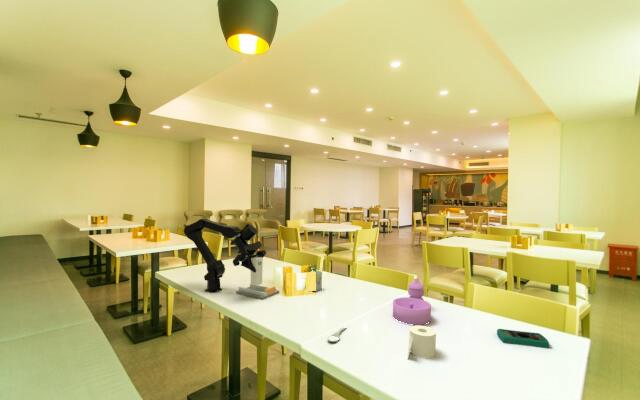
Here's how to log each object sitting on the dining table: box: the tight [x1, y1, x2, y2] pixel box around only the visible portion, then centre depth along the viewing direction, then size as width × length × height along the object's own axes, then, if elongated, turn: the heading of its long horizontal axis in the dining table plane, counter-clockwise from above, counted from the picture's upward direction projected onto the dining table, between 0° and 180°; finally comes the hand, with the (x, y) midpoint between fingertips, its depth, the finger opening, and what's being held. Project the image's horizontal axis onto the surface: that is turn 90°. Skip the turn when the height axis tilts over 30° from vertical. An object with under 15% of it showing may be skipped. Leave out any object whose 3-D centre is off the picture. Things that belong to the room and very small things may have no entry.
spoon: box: [327, 328, 346, 343], centre depth 114 cm, size 4×21×2 cm, turn 155°
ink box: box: [308, 264, 323, 292], centre depth 166 cm, size 7×4×13 cm, turn 143°
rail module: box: [250, 257, 264, 286], centre depth 152 cm, size 4×4×13 cm
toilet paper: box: [406, 325, 437, 359], centre depth 100 cm, size 8×11×7 cm
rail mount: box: [235, 283, 280, 301], centre depth 160 cm, size 18×13×4 cm
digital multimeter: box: [496, 328, 550, 349], centre depth 110 cm, size 7×15×3 cm, turn 76°
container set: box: [392, 278, 432, 326], centre depth 134 cm, size 25×15×13 cm, turn 155°
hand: (258, 271), depth 151 cm, fingers closed on rail module, 4 cm apart
